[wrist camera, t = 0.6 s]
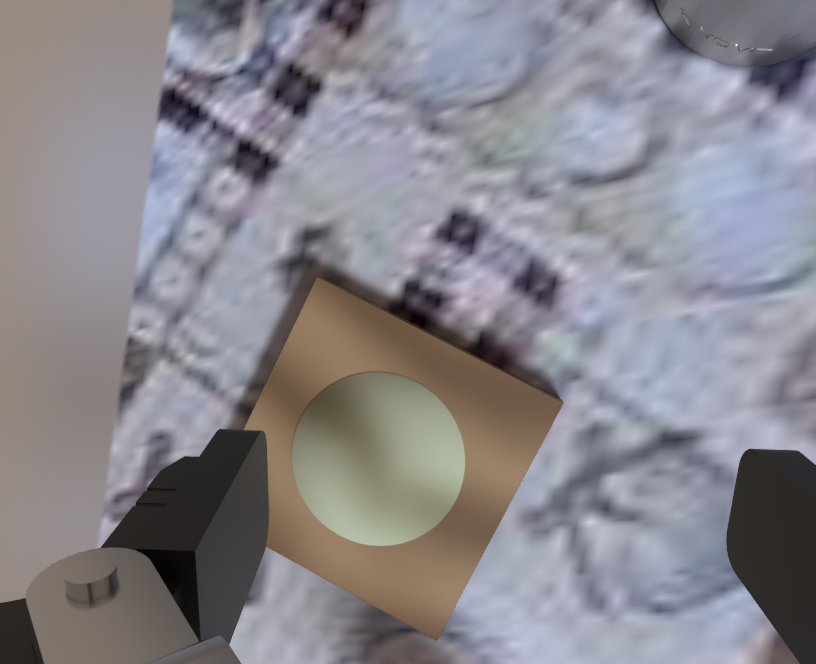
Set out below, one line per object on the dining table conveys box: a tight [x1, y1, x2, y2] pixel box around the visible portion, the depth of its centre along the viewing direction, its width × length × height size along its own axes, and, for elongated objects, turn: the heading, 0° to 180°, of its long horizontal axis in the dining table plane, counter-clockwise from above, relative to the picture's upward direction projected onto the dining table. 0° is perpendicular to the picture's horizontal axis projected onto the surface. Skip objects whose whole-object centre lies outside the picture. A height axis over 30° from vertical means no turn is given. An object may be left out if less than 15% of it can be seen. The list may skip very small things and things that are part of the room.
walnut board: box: [244, 277, 563, 641], centre depth 33 cm, size 13×13×1 cm
